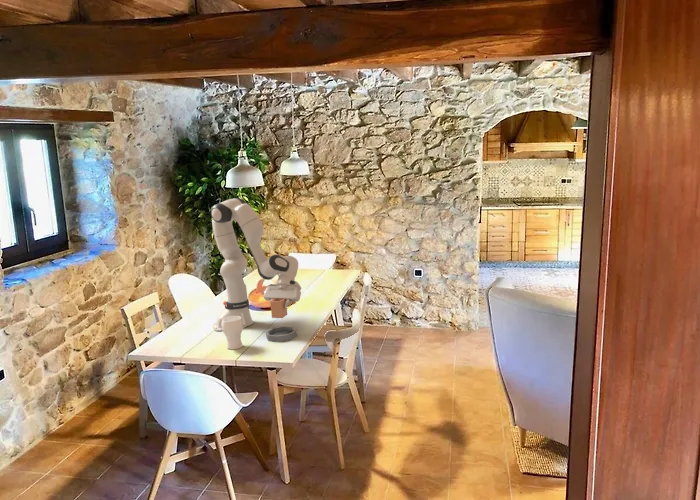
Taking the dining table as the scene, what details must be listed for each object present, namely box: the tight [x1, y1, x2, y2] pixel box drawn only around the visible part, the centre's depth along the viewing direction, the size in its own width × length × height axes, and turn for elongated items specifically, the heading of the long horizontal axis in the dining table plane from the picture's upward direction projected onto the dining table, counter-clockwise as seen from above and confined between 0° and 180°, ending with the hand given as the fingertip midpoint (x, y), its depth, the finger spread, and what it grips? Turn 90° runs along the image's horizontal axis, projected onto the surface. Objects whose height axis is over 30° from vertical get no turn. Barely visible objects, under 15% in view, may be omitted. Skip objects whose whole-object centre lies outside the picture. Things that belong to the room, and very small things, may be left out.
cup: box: [221, 316, 244, 350], centre depth 293 cm, size 11×11×15 cm
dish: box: [265, 325, 298, 343], centre depth 304 cm, size 15×15×3 cm
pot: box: [269, 299, 288, 319], centre depth 302 cm, size 6×6×9 cm
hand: (278, 307), depth 301 cm, fingers closed on pot, 6 cm apart
